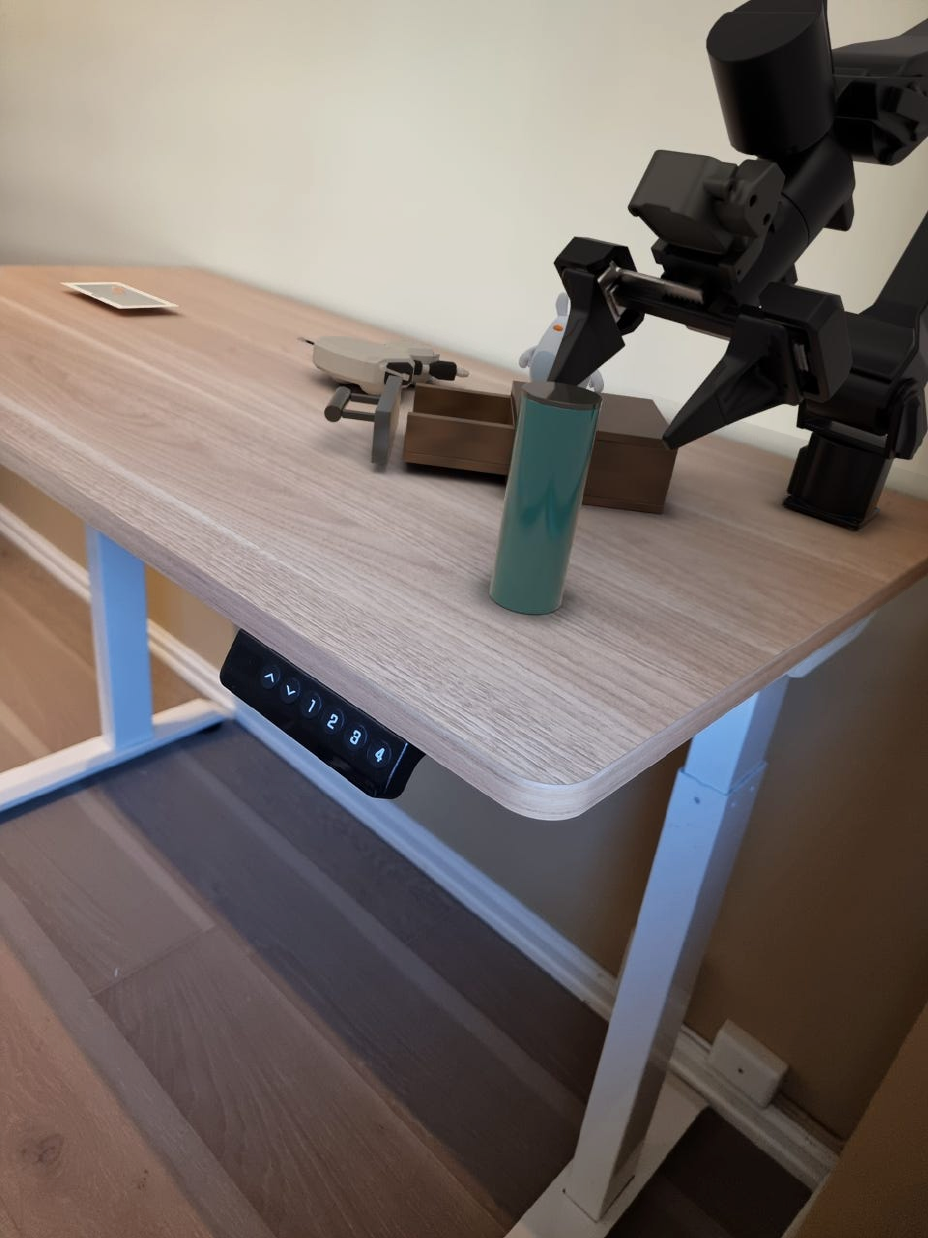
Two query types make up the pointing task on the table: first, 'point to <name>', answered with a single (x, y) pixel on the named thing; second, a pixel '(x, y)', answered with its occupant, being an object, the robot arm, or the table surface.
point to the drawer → (437, 425)
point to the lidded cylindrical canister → (544, 495)
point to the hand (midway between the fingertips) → (603, 419)
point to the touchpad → (119, 295)
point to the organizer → (625, 454)
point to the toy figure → (554, 350)
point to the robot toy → (379, 362)
